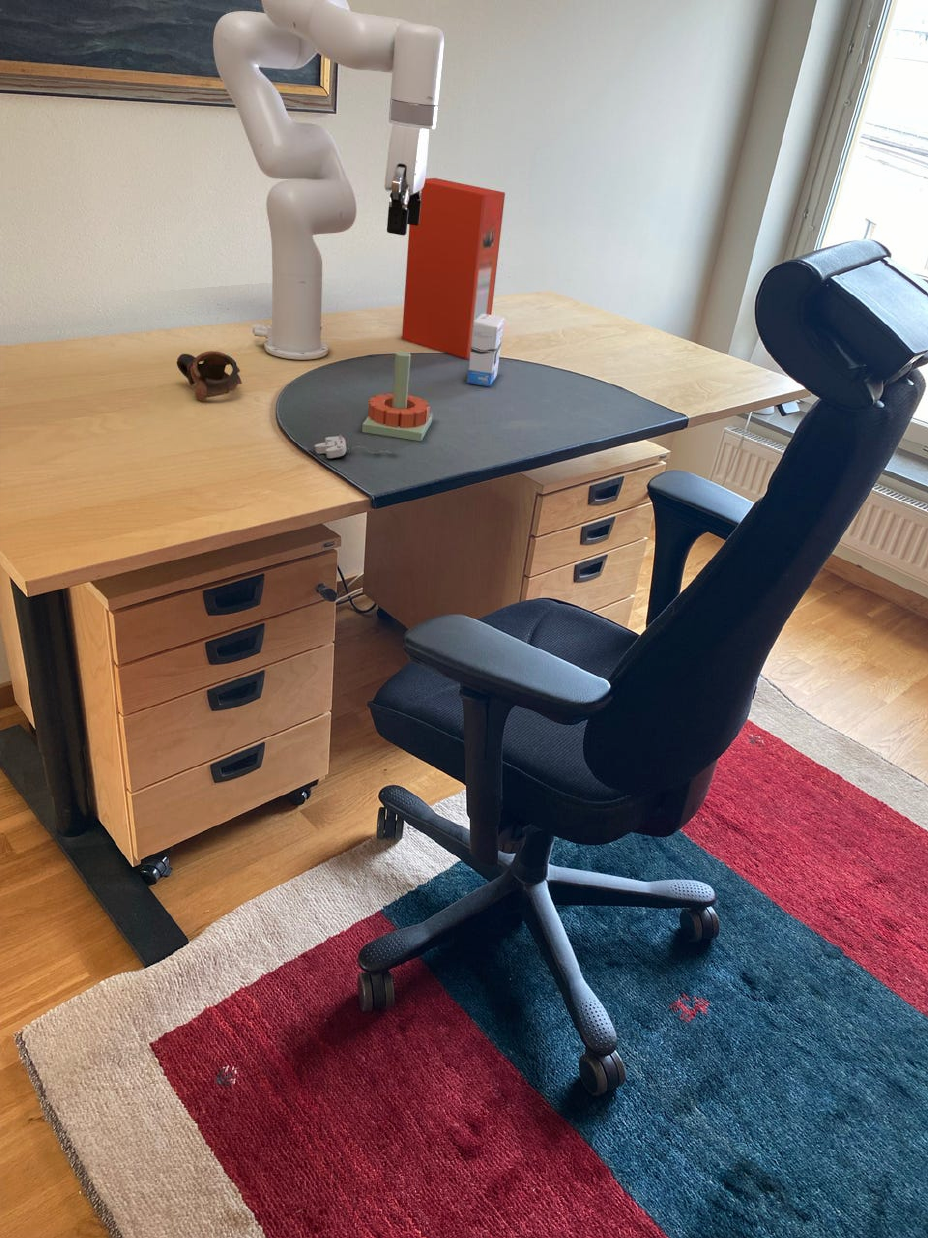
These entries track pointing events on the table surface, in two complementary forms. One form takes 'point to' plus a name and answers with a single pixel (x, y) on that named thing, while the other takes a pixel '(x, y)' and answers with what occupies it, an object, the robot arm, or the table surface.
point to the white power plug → (333, 447)
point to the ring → (398, 411)
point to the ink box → (485, 349)
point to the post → (399, 405)
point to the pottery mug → (209, 373)
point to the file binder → (451, 264)
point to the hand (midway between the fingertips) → (403, 228)
